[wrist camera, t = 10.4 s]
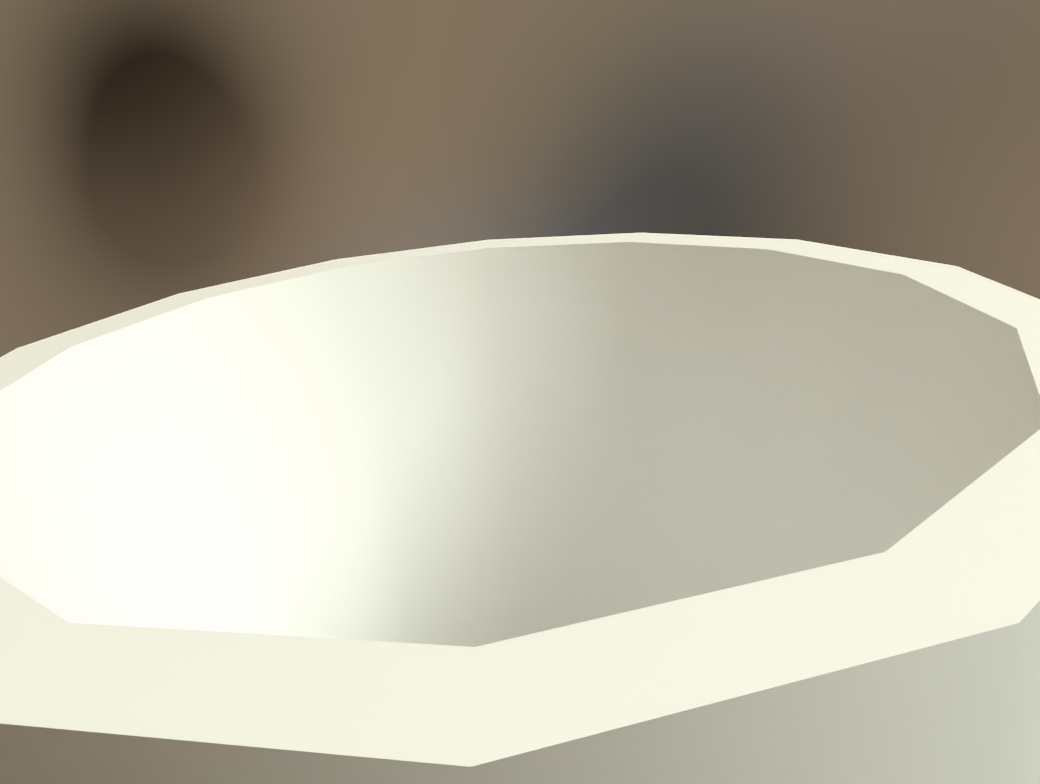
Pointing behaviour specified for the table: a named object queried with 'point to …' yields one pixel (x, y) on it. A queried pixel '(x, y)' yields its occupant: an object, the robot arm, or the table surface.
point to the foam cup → (531, 523)
